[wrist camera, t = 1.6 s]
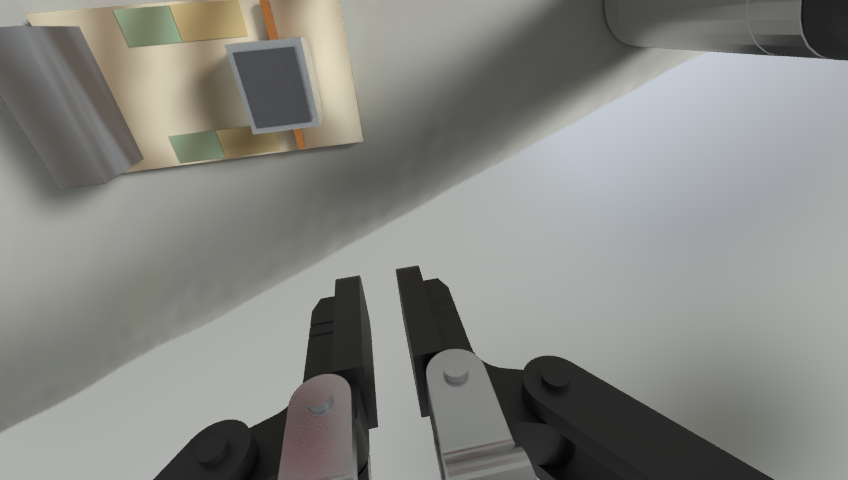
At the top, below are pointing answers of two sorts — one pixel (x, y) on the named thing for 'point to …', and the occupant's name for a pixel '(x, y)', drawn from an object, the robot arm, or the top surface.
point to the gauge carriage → (277, 81)
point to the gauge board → (161, 84)
